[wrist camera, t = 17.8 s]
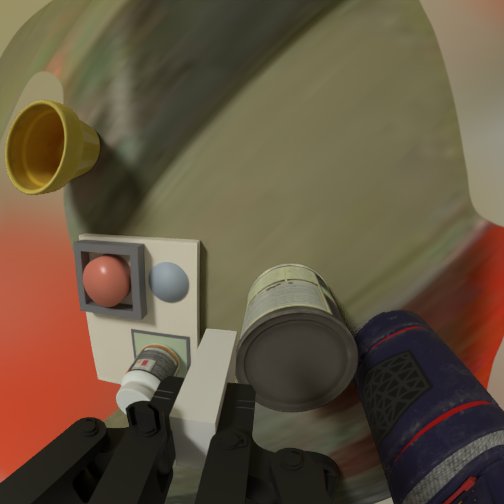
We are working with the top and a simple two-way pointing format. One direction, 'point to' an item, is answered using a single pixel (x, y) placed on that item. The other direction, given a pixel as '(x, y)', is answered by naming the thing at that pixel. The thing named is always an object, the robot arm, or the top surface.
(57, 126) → the plant pot
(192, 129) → the top surface
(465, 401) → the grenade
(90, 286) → the button
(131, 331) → the white control panel
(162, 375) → the pill bottle
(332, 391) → the coffee can
